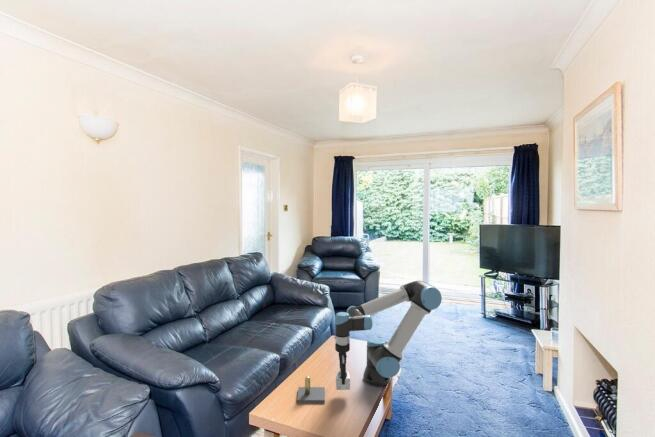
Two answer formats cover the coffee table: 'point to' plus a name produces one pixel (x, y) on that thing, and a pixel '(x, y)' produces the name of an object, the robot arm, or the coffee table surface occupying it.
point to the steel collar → (338, 381)
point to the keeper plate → (311, 395)
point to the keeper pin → (307, 385)
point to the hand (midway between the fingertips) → (342, 385)
